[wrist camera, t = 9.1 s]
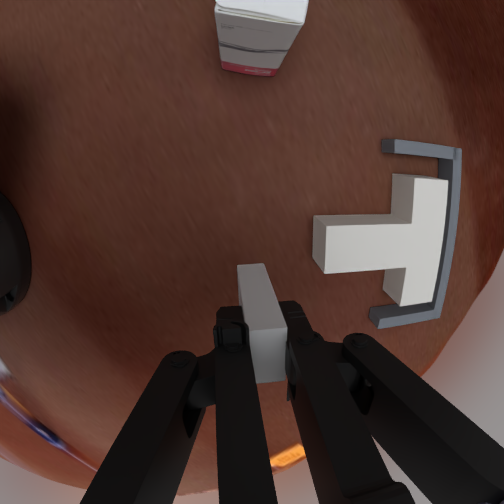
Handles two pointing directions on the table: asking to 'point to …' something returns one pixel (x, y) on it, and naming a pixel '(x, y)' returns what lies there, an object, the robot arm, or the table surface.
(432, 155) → the dock
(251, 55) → the ink box
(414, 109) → the table surface
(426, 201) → the t block
